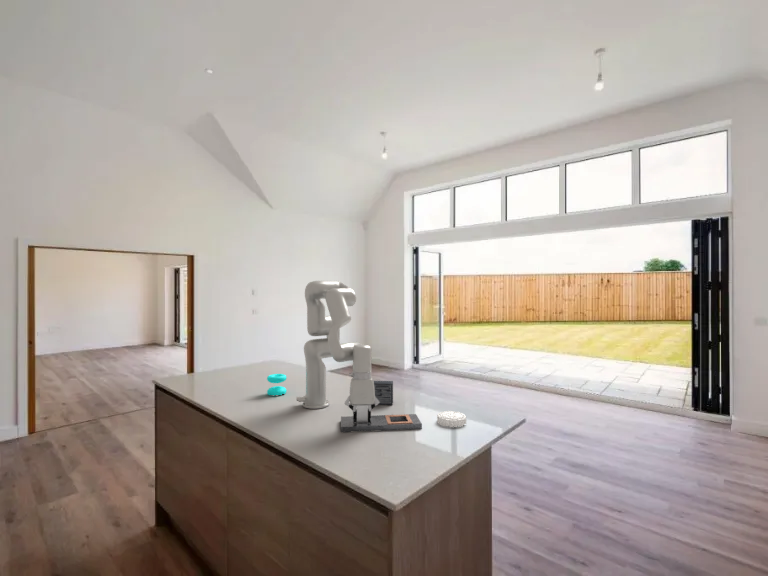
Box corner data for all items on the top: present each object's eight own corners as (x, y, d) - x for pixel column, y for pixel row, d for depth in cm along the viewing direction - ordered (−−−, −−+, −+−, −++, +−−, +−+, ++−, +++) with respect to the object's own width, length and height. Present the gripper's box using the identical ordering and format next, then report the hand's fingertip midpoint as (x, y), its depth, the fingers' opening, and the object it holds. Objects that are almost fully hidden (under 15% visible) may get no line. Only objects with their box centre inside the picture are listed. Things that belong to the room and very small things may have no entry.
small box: (393, 401, 188) (393, 380, 188) (392, 405, 181) (392, 383, 181) (372, 400, 189) (372, 379, 189) (370, 404, 182) (370, 383, 182)
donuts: (290, 373, 204) (279, 378, 195) (290, 392, 204) (279, 397, 195) (274, 372, 207) (263, 376, 198) (274, 391, 207) (263, 395, 197)
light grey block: (356, 427, 151) (356, 405, 151) (356, 424, 156) (356, 402, 156) (367, 427, 152) (367, 405, 152) (367, 423, 156) (367, 401, 156)
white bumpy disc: (447, 430, 150) (447, 420, 150) (431, 420, 161) (431, 411, 161) (472, 425, 155) (472, 416, 155) (455, 416, 166) (455, 408, 166)
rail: (340, 432, 147) (340, 426, 147) (341, 421, 159) (341, 416, 159) (421, 428, 150) (421, 423, 150) (415, 418, 162) (415, 413, 162)
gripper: (341, 378, 149) (341, 424, 149) (383, 377, 151) (383, 422, 151) (341, 374, 157) (341, 418, 157) (381, 373, 159) (381, 416, 159)
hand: (362, 419), depth 154 cm, fingers closed on light grey block, 4 cm apart
